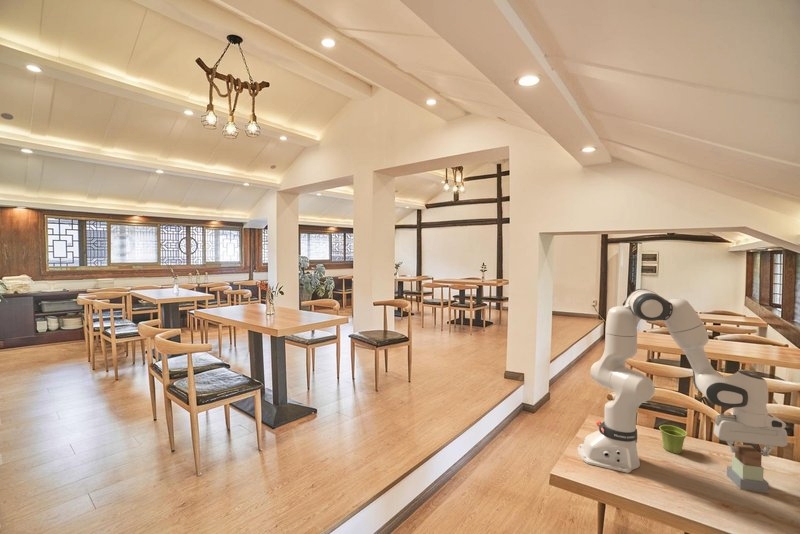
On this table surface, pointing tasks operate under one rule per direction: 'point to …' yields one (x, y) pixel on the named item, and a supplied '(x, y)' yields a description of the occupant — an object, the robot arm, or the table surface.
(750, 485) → the base slab
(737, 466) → the tower cube
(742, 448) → the walnut cube
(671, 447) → the plant pot
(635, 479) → the table surface
